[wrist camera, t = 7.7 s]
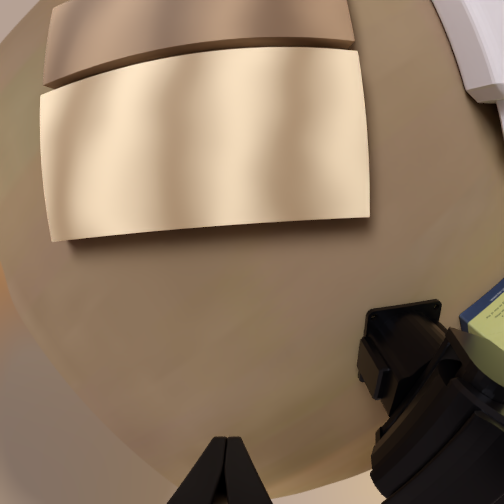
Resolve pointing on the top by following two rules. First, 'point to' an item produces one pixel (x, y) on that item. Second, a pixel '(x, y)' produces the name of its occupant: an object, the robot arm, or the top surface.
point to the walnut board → (181, 31)
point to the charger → (477, 46)
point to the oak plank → (207, 143)
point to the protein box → (487, 316)
